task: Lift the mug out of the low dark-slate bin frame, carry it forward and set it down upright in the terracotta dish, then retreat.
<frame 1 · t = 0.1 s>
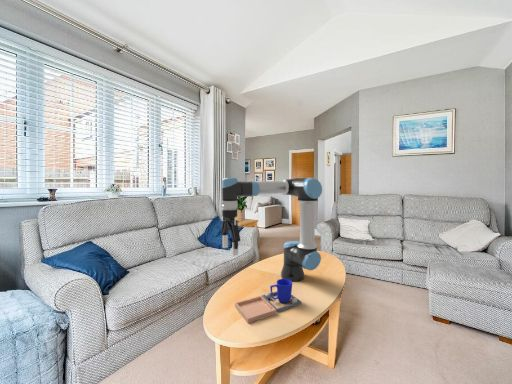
hand: (230, 251, 115), 28 cm above the table, fingers open, 13 cm apart
pebble 2: (267, 298, 123), resting in slate bin
pebble 1: (294, 303, 118), resting in slate bin
mug: (281, 301, 121), resting in slate bin
slate bin: (281, 301, 121), on the table
terracotta dish: (254, 310, 113), on the table
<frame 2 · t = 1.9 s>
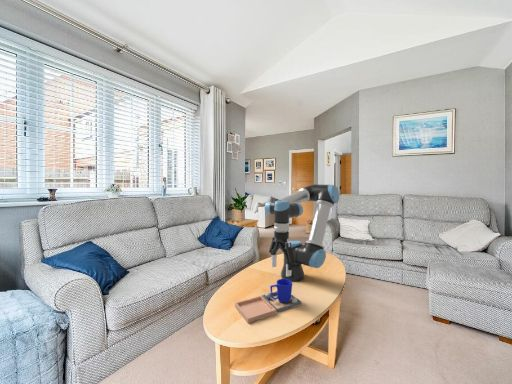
hand: (280, 271, 120), 16 cm above the table, fingers open, 13 cm apart
nothing on the table moved.
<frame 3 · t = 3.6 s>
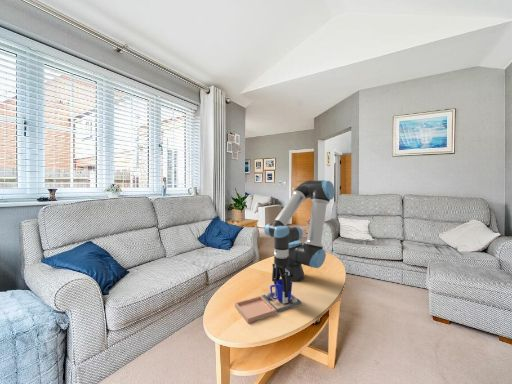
hand: (281, 299, 121), 1 cm above the table, fingers closed on mug, 7 cm apart
mug: (280, 301, 121), resting in slate bin, touching gripper
everything else where it was.
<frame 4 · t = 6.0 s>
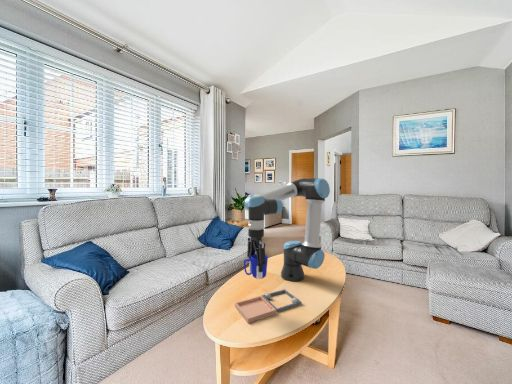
hand: (255, 275, 112), 17 cm above the table, fingers closed on mug, 7 cm apart
mug: (255, 277, 112), point 16 cm above the table, touching gripper
everything else where it was.
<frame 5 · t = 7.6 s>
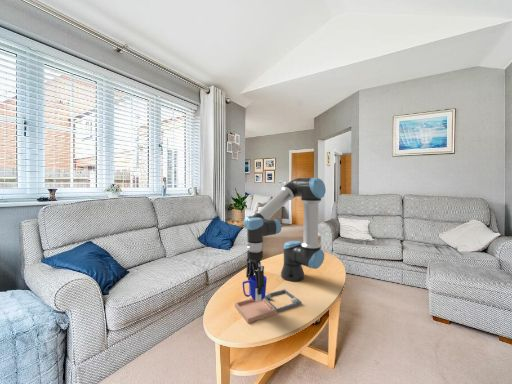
hand: (254, 296, 112), 7 cm above the table, fingers closed on mug, 7 cm apart
mug: (254, 298, 112), point 6 cm above the table, touching gripper
everything else where it was.
when the fingers open (3 cm above the table, at t = 8.6 s): mug drops 1 cm, resting on terracotta dish.
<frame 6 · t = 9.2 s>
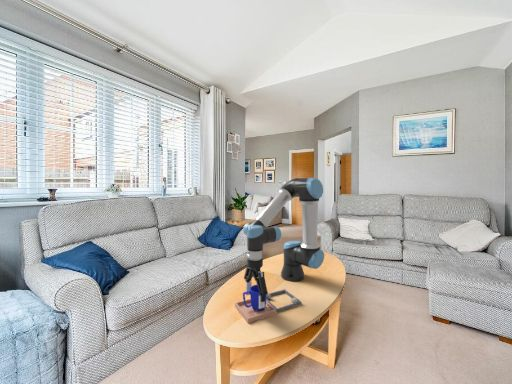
hand: (254, 300, 112), 5 cm above the table, fingers open, 13 cm apart
mug: (254, 309, 113), resting on terracotta dish
everything else where it was.
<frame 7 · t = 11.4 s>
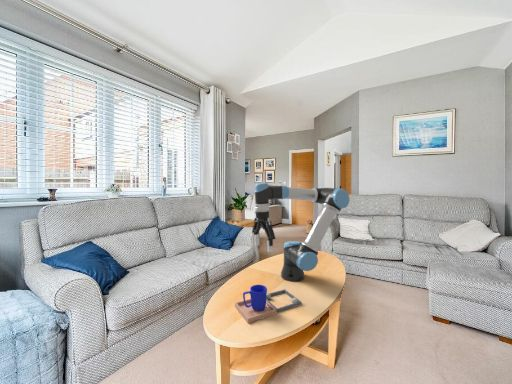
hand: (263, 248, 129), 25 cm above the table, fingers open, 13 cm apart
nothing on the table moved.
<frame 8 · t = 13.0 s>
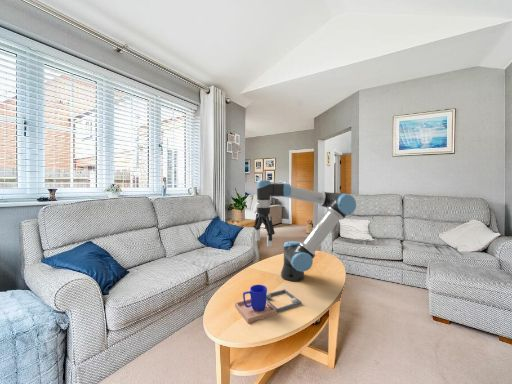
hand: (263, 243, 134), 27 cm above the table, fingers open, 13 cm apart
nothing on the table moved.
at the end: mug inside the target area on the terracotta dish (0.2 cm from its centre), point 0.3 cm above the terracotta dish's base; mug tilted 0°; the gripper is holding nothing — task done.
